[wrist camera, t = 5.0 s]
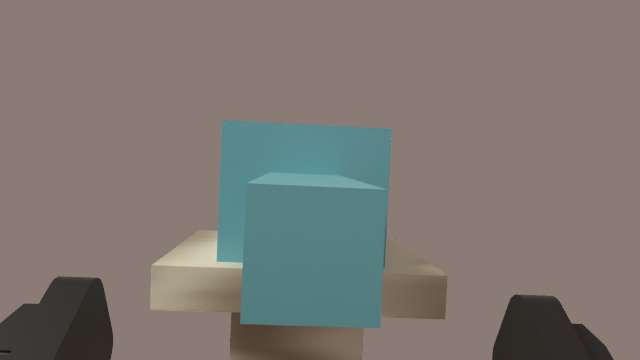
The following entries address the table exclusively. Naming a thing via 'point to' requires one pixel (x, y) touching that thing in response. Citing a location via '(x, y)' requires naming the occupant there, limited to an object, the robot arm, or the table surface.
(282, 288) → the mallet
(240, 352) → the marble column
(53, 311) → the robot arm
